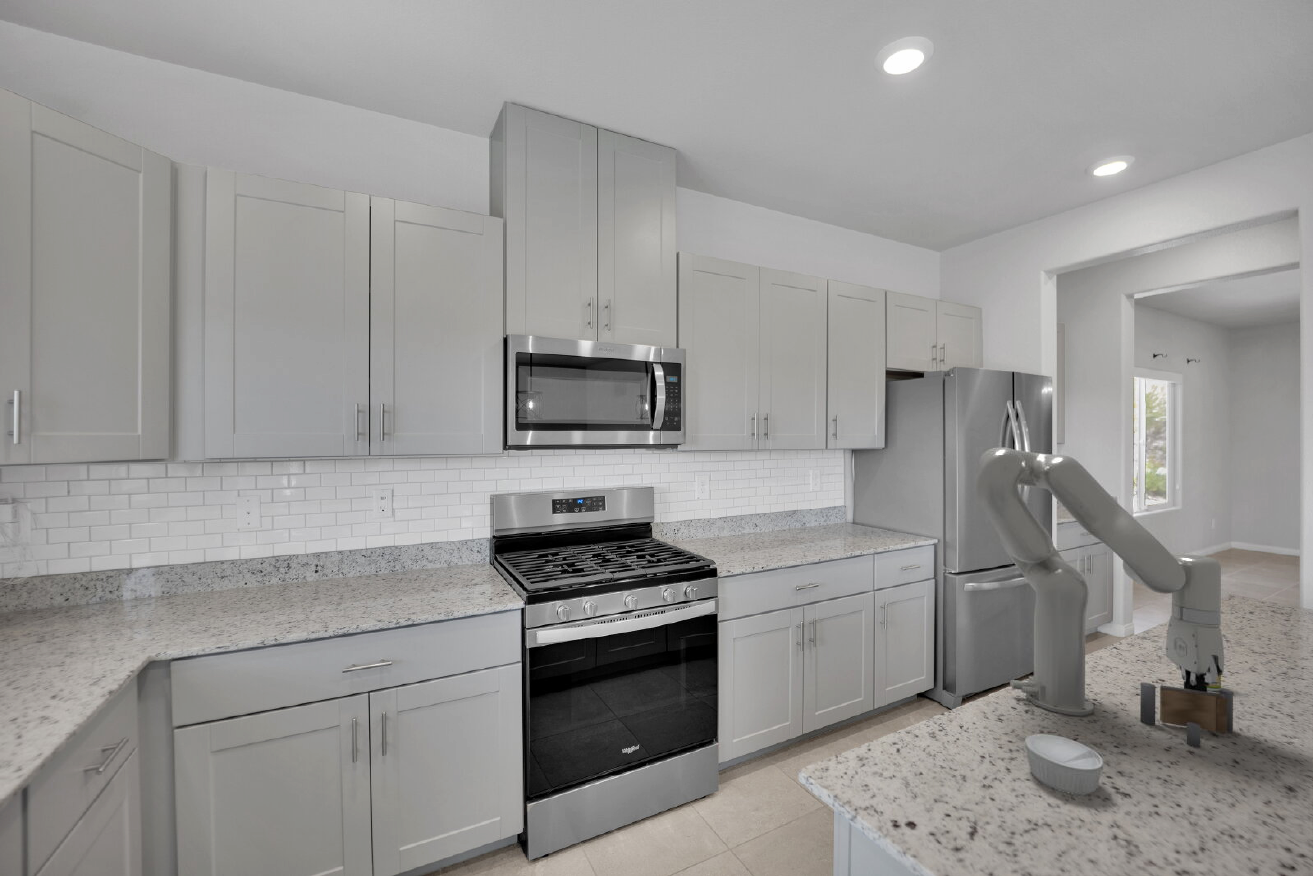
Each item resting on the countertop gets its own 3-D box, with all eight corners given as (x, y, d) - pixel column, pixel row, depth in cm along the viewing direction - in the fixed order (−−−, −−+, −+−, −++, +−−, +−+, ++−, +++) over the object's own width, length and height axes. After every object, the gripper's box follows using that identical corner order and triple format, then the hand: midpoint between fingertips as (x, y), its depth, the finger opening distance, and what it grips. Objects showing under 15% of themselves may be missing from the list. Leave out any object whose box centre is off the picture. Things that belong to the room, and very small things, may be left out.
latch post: (1224, 732, 117) (1224, 692, 118) (1216, 727, 119) (1216, 688, 120) (1235, 733, 117) (1235, 693, 117) (1227, 728, 119) (1228, 689, 119)
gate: (1162, 723, 120) (1162, 686, 120) (1159, 719, 121) (1159, 684, 121) (1227, 733, 116) (1227, 696, 116) (1223, 730, 117) (1223, 693, 117)
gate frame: (1192, 748, 111) (1193, 706, 111) (1137, 720, 122) (1137, 682, 122) (1203, 747, 111) (1203, 706, 111) (1147, 719, 122) (1147, 682, 122)
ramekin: (1107, 808, 92) (1107, 776, 92) (1025, 786, 98) (1025, 755, 98) (1098, 775, 102) (1099, 745, 102) (1024, 756, 108) (1024, 727, 108)
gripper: (1151, 604, 129) (1150, 686, 128) (1202, 625, 114) (1201, 717, 114) (1189, 606, 127) (1189, 689, 127) (1246, 627, 113) (1245, 721, 112)
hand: (1195, 702), depth 120 cm, fingers closed
